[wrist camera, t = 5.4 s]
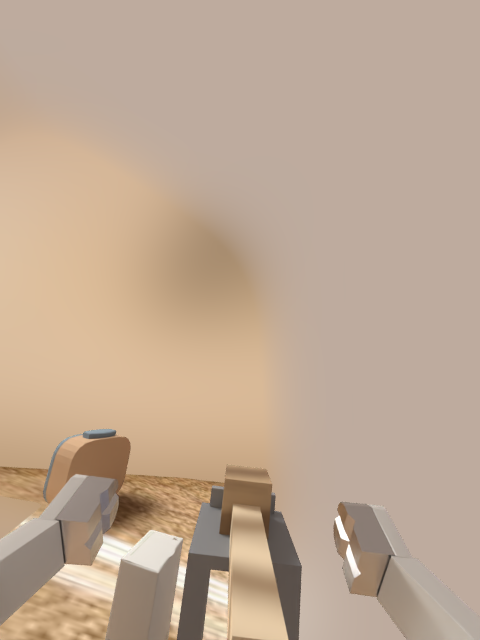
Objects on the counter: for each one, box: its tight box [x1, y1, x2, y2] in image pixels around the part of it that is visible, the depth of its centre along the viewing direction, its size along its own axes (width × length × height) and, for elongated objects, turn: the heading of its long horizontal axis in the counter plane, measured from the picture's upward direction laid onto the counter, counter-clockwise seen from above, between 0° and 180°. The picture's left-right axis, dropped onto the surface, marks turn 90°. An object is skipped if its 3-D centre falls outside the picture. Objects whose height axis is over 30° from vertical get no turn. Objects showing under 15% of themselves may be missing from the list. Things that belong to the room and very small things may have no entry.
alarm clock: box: [43, 429, 130, 503], centre depth 81 cm, size 21×10×22 cm, turn 154°
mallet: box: [219, 465, 288, 640], centre depth 22 cm, size 20×5×5 cm, turn 1°
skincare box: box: [105, 530, 183, 640], centre depth 37 cm, size 8×7×16 cm
